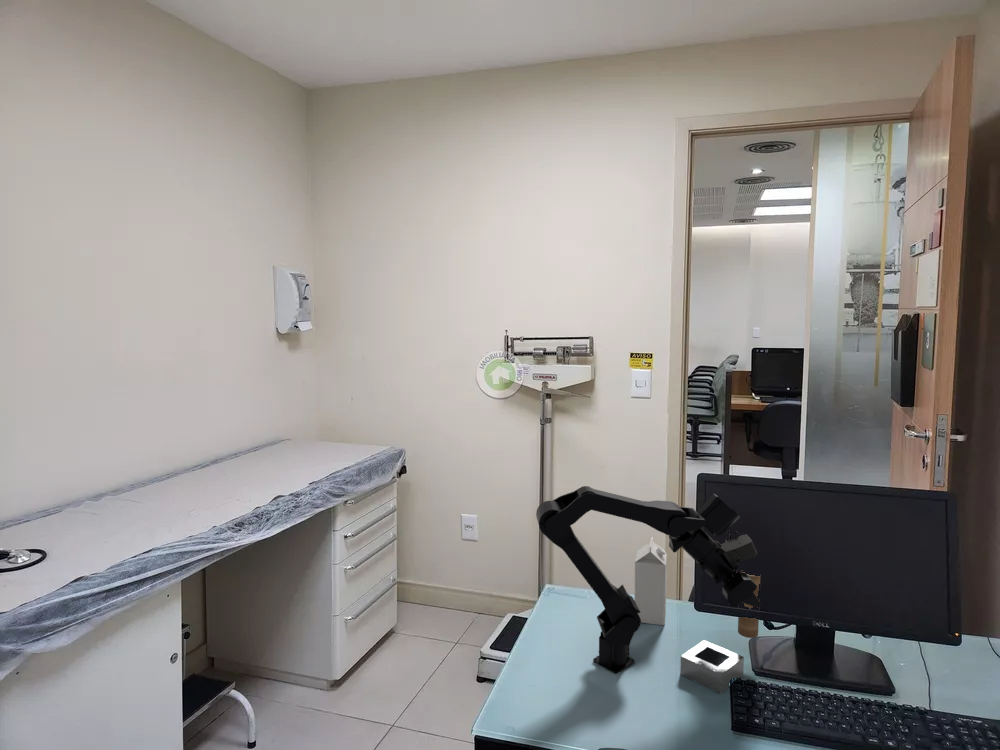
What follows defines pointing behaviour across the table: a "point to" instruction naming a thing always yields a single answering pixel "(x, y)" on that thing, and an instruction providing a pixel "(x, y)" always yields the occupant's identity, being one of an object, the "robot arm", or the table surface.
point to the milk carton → (651, 583)
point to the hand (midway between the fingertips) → (755, 601)
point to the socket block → (711, 666)
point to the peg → (749, 625)
